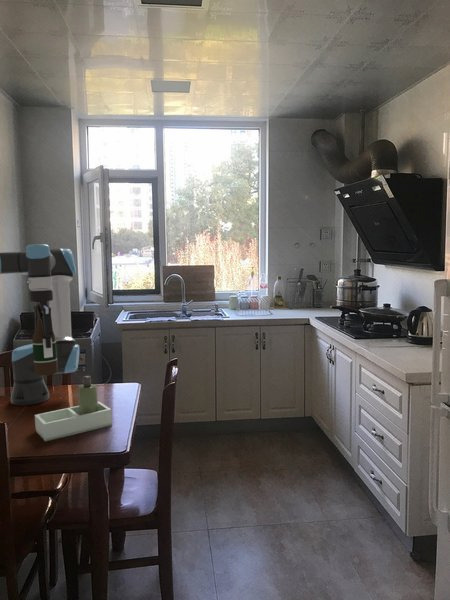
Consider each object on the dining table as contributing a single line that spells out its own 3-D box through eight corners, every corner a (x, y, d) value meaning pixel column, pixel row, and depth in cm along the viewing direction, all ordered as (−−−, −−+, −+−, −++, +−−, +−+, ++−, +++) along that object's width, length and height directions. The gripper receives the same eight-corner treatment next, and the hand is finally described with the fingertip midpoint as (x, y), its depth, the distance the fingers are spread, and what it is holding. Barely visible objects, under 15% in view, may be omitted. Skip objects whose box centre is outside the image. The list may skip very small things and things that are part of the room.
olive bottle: (77, 422, 176) (74, 376, 175) (95, 418, 180) (92, 373, 178) (83, 426, 171) (80, 380, 169) (101, 422, 175) (98, 376, 173)
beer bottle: (50, 375, 166) (45, 305, 164) (29, 375, 168) (24, 305, 166) (62, 370, 174) (58, 302, 172) (43, 370, 176) (38, 303, 174)
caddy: (35, 431, 171) (34, 414, 170) (100, 416, 184) (99, 401, 183) (45, 441, 161) (43, 424, 160) (112, 425, 174) (111, 409, 173)
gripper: (22, 289, 175) (27, 353, 177) (36, 291, 158) (41, 361, 160) (44, 288, 179) (49, 350, 181) (60, 289, 162) (64, 358, 164)
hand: (45, 355), depth 171 cm, fingers closed on beer bottle, 8 cm apart
